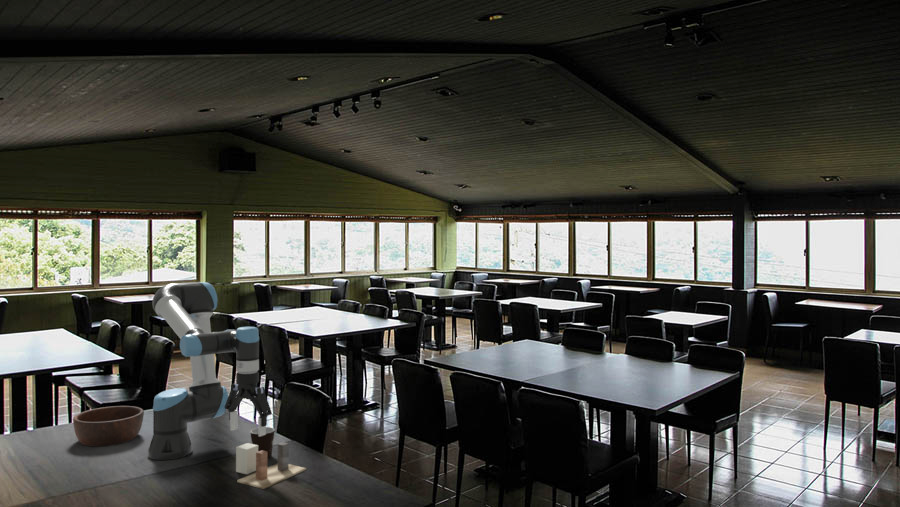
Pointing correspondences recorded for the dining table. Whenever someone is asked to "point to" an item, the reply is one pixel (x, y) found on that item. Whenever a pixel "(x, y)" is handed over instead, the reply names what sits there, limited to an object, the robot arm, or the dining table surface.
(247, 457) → the upright off-white block
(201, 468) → the dining table surface
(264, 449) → the coffee mug
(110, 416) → the wooden bowl
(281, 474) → the stand
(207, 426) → the dining table surface
